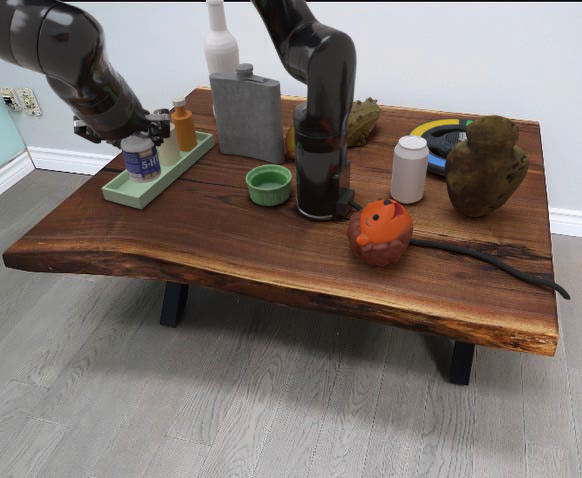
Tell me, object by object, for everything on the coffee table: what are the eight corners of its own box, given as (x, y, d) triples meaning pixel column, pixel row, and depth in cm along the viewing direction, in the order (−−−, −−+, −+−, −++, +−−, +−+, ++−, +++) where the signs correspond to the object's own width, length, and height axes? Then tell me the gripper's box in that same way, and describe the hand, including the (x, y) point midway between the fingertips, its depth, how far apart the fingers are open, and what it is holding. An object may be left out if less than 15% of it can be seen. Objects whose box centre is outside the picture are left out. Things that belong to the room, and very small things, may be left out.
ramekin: (273, 213, 95) (272, 194, 93) (238, 198, 100) (235, 180, 97) (301, 191, 101) (301, 172, 98) (267, 178, 105) (265, 159, 102)
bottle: (246, 109, 131) (232, -17, 112) (246, 124, 125) (231, -7, 105) (215, 112, 131) (196, -14, 112) (213, 126, 124) (192, -5, 105)
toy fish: (406, 282, 80) (414, 226, 72) (340, 273, 82) (342, 217, 75) (411, 235, 88) (419, 181, 81) (352, 228, 91) (354, 174, 84)
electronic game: (411, 125, 120) (413, 106, 117) (514, 137, 113) (519, 117, 110) (394, 175, 103) (396, 155, 100) (513, 192, 97) (519, 171, 94)
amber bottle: (201, 143, 116) (193, 96, 109) (190, 153, 113) (181, 104, 106) (185, 140, 118) (175, 93, 110) (173, 149, 115) (163, 101, 107)
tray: (214, 145, 117) (213, 134, 115) (141, 209, 98) (138, 197, 97) (182, 138, 120) (180, 127, 119) (105, 199, 102) (101, 188, 100)
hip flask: (217, 152, 114) (204, 65, 102) (226, 144, 117) (214, 58, 104) (281, 165, 109) (274, 74, 96) (288, 156, 112) (283, 66, 99)
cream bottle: (185, 157, 112) (175, 108, 104) (173, 167, 109) (162, 118, 101) (168, 153, 113) (157, 105, 106) (156, 163, 110) (144, 114, 103)
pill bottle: (150, 186, 80) (137, 136, 75) (123, 181, 82) (108, 131, 77) (168, 169, 84) (157, 120, 79) (142, 165, 86) (129, 116, 80)
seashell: (385, 131, 121) (388, 89, 115) (365, 154, 110) (367, 109, 105) (342, 124, 125) (343, 84, 120) (318, 146, 114) (319, 102, 109)
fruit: (304, 142, 116) (303, 110, 111) (336, 154, 111) (337, 120, 106) (277, 160, 110) (275, 127, 105) (310, 173, 106) (309, 139, 101)
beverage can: (427, 193, 98) (435, 138, 90) (414, 210, 94) (422, 153, 87) (398, 184, 101) (403, 130, 93) (384, 200, 97) (389, 145, 89)
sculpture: (434, 222, 91) (451, 120, 78) (440, 196, 97) (457, 98, 84) (512, 235, 87) (544, 130, 75) (513, 207, 93) (543, 106, 81)
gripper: (159, 70, 65) (183, 116, 82) (46, 78, 65) (94, 123, 82) (162, 126, 64) (186, 161, 81) (49, 134, 64) (96, 168, 81)
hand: (140, 141), depth 81 cm, fingers closed on pill bottle, 5 cm apart
